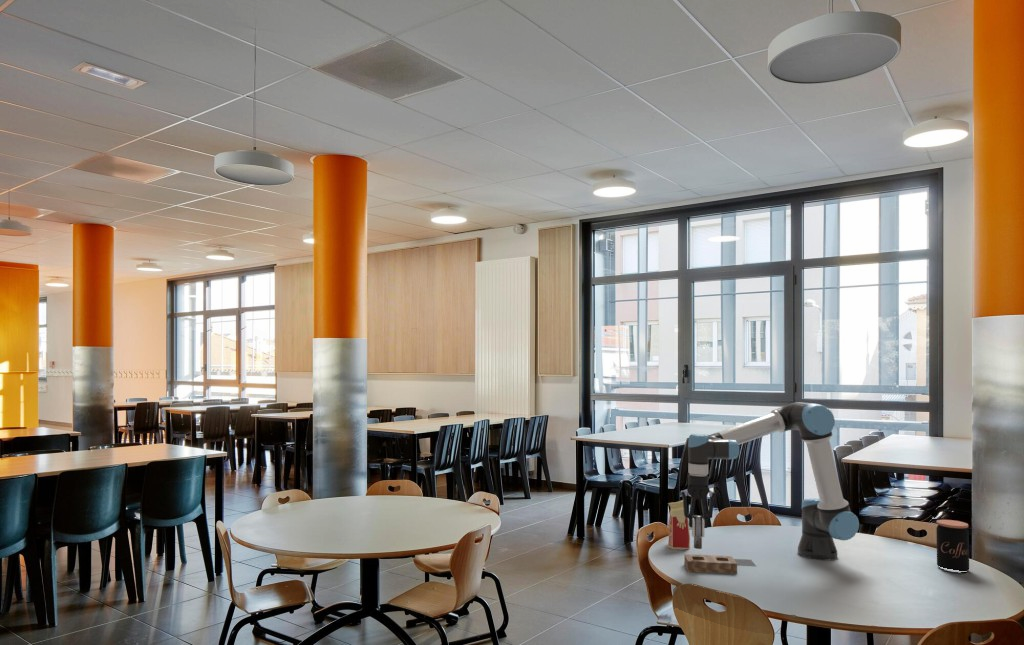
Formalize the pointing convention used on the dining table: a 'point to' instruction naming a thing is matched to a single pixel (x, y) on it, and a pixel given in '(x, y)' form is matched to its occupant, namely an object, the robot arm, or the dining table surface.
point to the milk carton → (678, 527)
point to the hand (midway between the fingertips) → (697, 536)
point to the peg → (698, 532)
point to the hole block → (710, 563)
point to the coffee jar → (952, 545)
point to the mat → (744, 562)
